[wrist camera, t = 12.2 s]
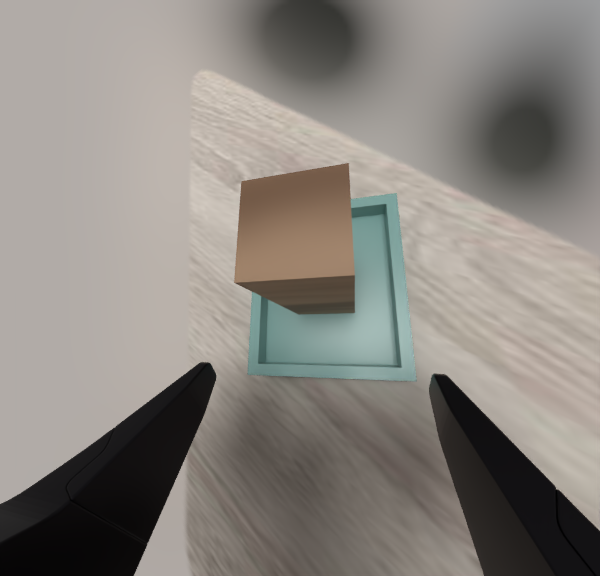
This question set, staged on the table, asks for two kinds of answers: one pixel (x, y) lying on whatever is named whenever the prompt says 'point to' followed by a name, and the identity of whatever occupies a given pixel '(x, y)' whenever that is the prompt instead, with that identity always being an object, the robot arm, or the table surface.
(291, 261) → the tall brown wood pillar
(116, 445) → the robot arm
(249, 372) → the tray
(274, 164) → the table surface
